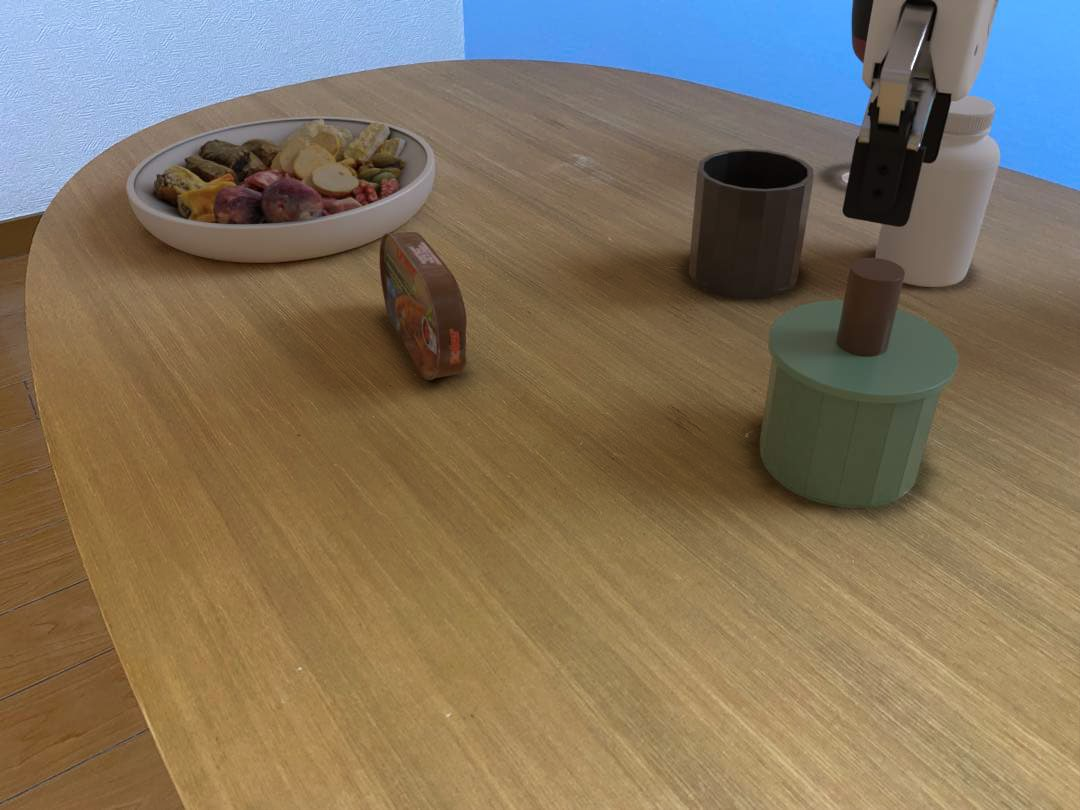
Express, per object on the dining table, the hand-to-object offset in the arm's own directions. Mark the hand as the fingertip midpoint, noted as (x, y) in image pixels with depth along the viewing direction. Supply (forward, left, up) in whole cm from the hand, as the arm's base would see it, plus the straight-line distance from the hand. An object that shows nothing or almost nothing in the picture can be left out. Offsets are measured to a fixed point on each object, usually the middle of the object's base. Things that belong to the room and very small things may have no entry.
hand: (891, 187), depth 51 cm
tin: (+16, -28, -19) cm, 37 cm away
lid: (0, 0, -11) cm, 11 cm away
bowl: (+15, -60, -19) cm, 65 cm away
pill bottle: (-27, -15, -19) cm, 37 cm away
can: (0, 0, -19) cm, 19 cm away
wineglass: (-39, -32, -19) cm, 54 cm away
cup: (-13, -23, -19) cm, 33 cm away
